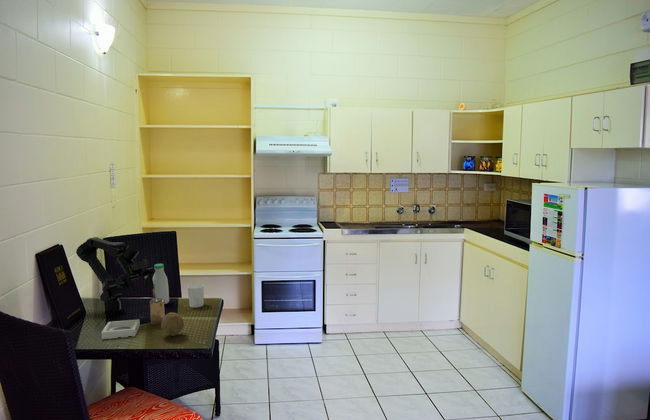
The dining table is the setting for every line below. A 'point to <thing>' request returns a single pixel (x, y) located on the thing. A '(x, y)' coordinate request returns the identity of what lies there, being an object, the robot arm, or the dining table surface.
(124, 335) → the tray
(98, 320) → the dining table surface
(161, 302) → the spout can
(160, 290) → the milk bottle
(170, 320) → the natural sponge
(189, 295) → the white cup
